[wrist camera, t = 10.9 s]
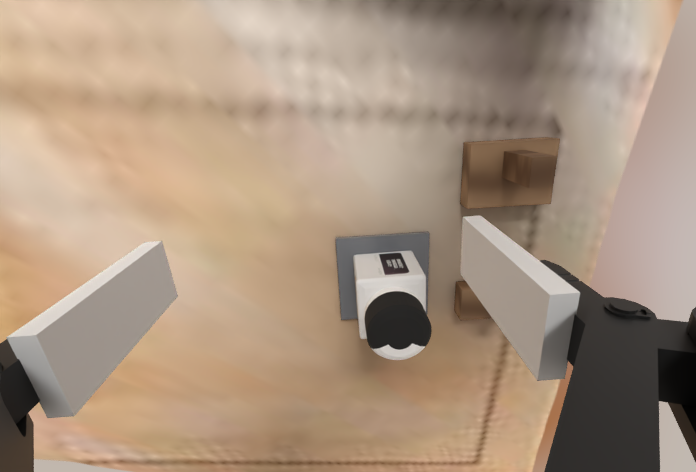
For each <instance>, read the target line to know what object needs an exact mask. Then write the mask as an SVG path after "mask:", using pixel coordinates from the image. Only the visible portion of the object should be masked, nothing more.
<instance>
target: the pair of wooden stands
mask: <svg viewBox="0 0 696 472" xmlns="http://www.w3.org/2000/svg"><path fill="white" fill-rule="evenodd" d="M559 142H560V139H557V138H549V137H545V138H528V139H511V140H495V141H478V142H464V147H463V165H462V183H461V200H460V204H461V205H463V206H464V207H466V208H467V209H472V208H489V207H505V206H521V205H537V204H551V197H552V190H553V183H554V176H555V170H556V163H557V156H558V149H559ZM454 310H455V312H456V314H457V315H458V317H459V319H460V320H470V319H486V318H492V317H491V316H490V314H489V313H488V311H487V310H486V309H485V307H484V306H483V305H482V303H481V302H480V300H479V299H478V298H477V296H476V295H475V293H474V292H473V291H472V289H471V288H470V287H469V285H468V284H467V282H466V281H458V282H456V290H455V308H454Z"/></svg>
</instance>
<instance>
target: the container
mask: <svg viewBox="0 0 696 472" xmlns="http://www.w3.org/2000/svg"><path fill="white" fill-rule="evenodd" d="M353 263H354V276H355V290H356V303H357V314H358V324H359V333H360V338H361V339H367V341H368V343H369V346H370V347H371V349H372V350H373V351H374V352H375V353H377V354H378V355H380V356H382V357H384V358H387V359H392V360H403V359H408V358H410V357H413V356H415V355H417V354H418V353H419V352H421V351H422V350H423V349H424V348H425V346H426V345H427V344H428V342H429V340H430V337H431V324H430V321H429V319H428V317H427V314H426V276H425V274H424V272H423V271H422V269H421V267H420V265H419V263H418V261H417V259H416V258H415V256H414V254H413V252H412V251H397V252H384V253H371V254H358V255H354V257H353Z"/></svg>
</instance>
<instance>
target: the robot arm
mask: <svg viewBox="0 0 696 472" xmlns="http://www.w3.org/2000/svg"><path fill="white" fill-rule="evenodd" d="M460 274H461V275H462V277H463V278H464V280H465V281H466V282H467V284H468V285H469V287H470V288H471V289H472V291H473V292H474V293H475V295H476V296H477V298H478V299H479V300H480V302H481V303H482V305H483V306H484V307H485V309H486V310H487V311H488V313H489V314H490V316H491V317H492V318H493V320H494V321H495V323H496V324H497V325H498V327H499V328H500V330H501V331H502V332H503V334H504V335H505V336H506V338H507V339H508V341H509V342H510V343H511V345H512V346H513V348H514V349H515V350H516V352H517V353H518V354H519V356H520V357H521V359H522V360H523V361H524V363H525V364H526V366H527V367H528V368H529V370H530V371H531V373H532V374H533V375H534V377H535V378H536V379H537V381H540V380H553V379H565V374H566V369H567V363H568V361H569V362H570V363H571V364H572V365H573V371H572V375H571V378H570V382H569V385H568V389H567V393H566V396H565V400H564V403H563V407H562V411H561V414H560V418H559V421H558V425H557V429H556V432H555V436H554V439H553V443H552V447H551V450H550V454H549V457H548V461H547V464H546V468H545V472H660V454H659V453H660V451H659V401H663V402H668V404H669V406H670V408H671V410H672V412H673V414H674V416H675V418H676V421H677V423H678V425H679V427H680V429H681V431H682V434H683V436H684V438H685V440H686V442H687V444H688V446H689V449H690V451H691V453H692V455H693V457H694V460H695V462H696V308H694V309H693V310H692V312H691V315H690V318H689V322H680V321H670V320H661V319H657V318H656V316H655V314H654V313H653V312H652V311H651V310H649V309H648V308H646V307H644V306H642V305H640V304H638V303H636V302H632V301H628V300H625V299H619V298H604V297H602V296H601V295H600V294H598V293H597V292H595V291H594V290H593V289H591V288H590V287H589V286H587V285H586V284H584V283H583V282H582V281H579V279H577V278H576V277H575V276H573V275H571V274H570V273H569V272H568V271H566V270H565V269H564V268H562V267H561V266H559V265H556V264H554V263H551V262H549V261H546V260H541V261H539V260H538V259H536V258H535V257H534V256H532V255H531V254H530V253H528V252H527V251H526V250H525V249H523V248H522V247H521V246H519V245H518V244H517V243H515V242H514V241H513V240H512V239H510V238H509V237H508V236H506V235H505V234H504V233H503V232H501V231H500V230H499V229H497V228H496V227H495V226H493V225H492V224H491V223H490V222H488V221H487V220H486V219H484V218H483V217H482V216H480V215H479V216H467V217H463V221H462V245H461V269H460ZM177 297H178V295H177V291H176V288H175V284H174V281H173V277H172V274H171V270H170V267H169V263H168V260H167V256H166V253H165V250H164V246H163V243H162V241H155V242H144V243H143V244H142V245H140V246H139V247H137V248H136V249H134V250H133V251H131V252H130V253H128V254H127V255H126V256H124V257H123V258H121V259H120V260H118V261H117V262H115V263H114V264H112V265H111V266H110V267H108V268H107V269H105V270H104V271H102V272H101V273H99V274H98V275H96V276H95V277H94V278H92V279H91V280H89V281H88V282H86V283H85V284H83V285H82V286H80V287H79V288H78V289H76V290H75V291H73V292H72V293H70V294H69V295H67V296H66V297H64V298H63V299H62V300H60V301H59V302H57V303H56V304H54V305H53V306H51V307H50V308H49V309H47V310H46V311H44V312H43V313H41V314H40V315H38V316H37V317H35V318H34V319H33V320H31V321H30V322H28V323H27V324H25V325H24V326H22V327H21V328H19V329H18V330H17V331H15V332H14V333H12V334H11V335H9V336H8V337H6V338H7V339H6V340H5V341H3V342H2V343H0V472H34V467H33V465H34V439H33V422H32V420H31V418H30V416H29V414H28V412H29V411H30V410H31V409H32V408H33V407H34V406H35V405H36V404H37V403H38V402H40V404H41V406H42V408H43V410H44V412H45V414H46V416H47V418H56V417H69V416H75V415H76V414H77V412H78V411H79V410H80V409H81V408H82V407H83V405H84V404H85V403H86V402H87V401H88V400H89V399H90V397H91V396H92V395H93V394H94V393H95V392H96V390H97V389H98V388H99V387H100V386H101V385H102V383H103V382H104V381H105V380H106V379H107V378H108V376H109V375H110V374H111V373H112V372H113V371H114V370H115V368H116V367H117V366H118V365H119V364H120V363H121V361H122V360H123V359H124V358H125V357H126V356H127V354H128V353H129V352H130V351H131V350H132V349H133V348H134V346H135V345H136V344H137V343H138V342H139V341H140V339H141V338H142V337H143V336H144V335H145V334H146V332H147V331H148V330H149V329H150V328H151V327H152V325H153V324H154V323H155V322H156V321H157V320H158V319H159V317H160V316H161V315H162V314H163V313H164V312H165V310H166V309H167V308H168V307H169V306H170V305H171V303H172V302H173V301H174V300H175V299H176V298H177Z"/></svg>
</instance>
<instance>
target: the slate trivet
mask: <svg viewBox="0 0 696 472" xmlns="http://www.w3.org/2000/svg"><path fill="white" fill-rule="evenodd" d="M336 251H337V265H338V279H339V292H340V306H341V320H347V319H358V314H357V303H356V290H355V276H354V263H353V257H354V255H358V254H371V253H384V252H397V251H412V252H413V254H414V256H415V258H416V259H417V261H418V263H419V265H420V267H421V269H422V271H423V272H424V274H425V276H426V314H427V304H428V265H429V232H417V233H401V234H385V235H369V236H352V237H336Z"/></svg>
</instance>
